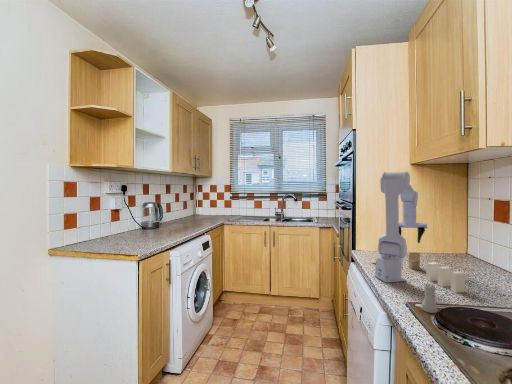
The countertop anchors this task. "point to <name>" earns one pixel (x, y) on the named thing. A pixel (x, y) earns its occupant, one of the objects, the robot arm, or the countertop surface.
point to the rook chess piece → (429, 299)
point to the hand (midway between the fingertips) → (409, 242)
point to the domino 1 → (414, 260)
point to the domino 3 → (444, 276)
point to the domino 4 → (458, 281)
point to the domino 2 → (432, 271)
